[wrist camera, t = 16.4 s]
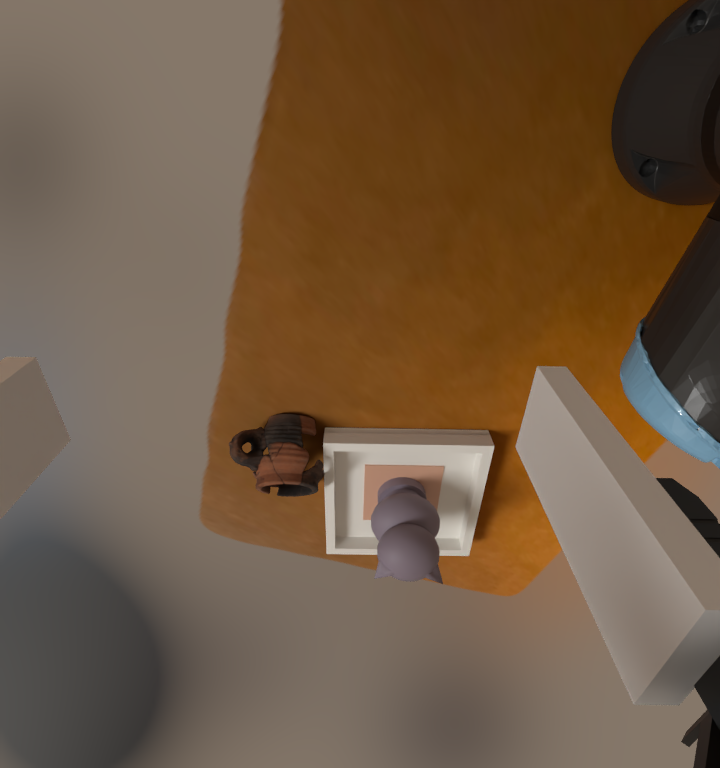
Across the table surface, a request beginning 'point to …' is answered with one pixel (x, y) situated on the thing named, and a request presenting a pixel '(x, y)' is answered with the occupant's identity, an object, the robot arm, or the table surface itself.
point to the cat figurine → (406, 532)
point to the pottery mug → (279, 455)
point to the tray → (403, 459)
